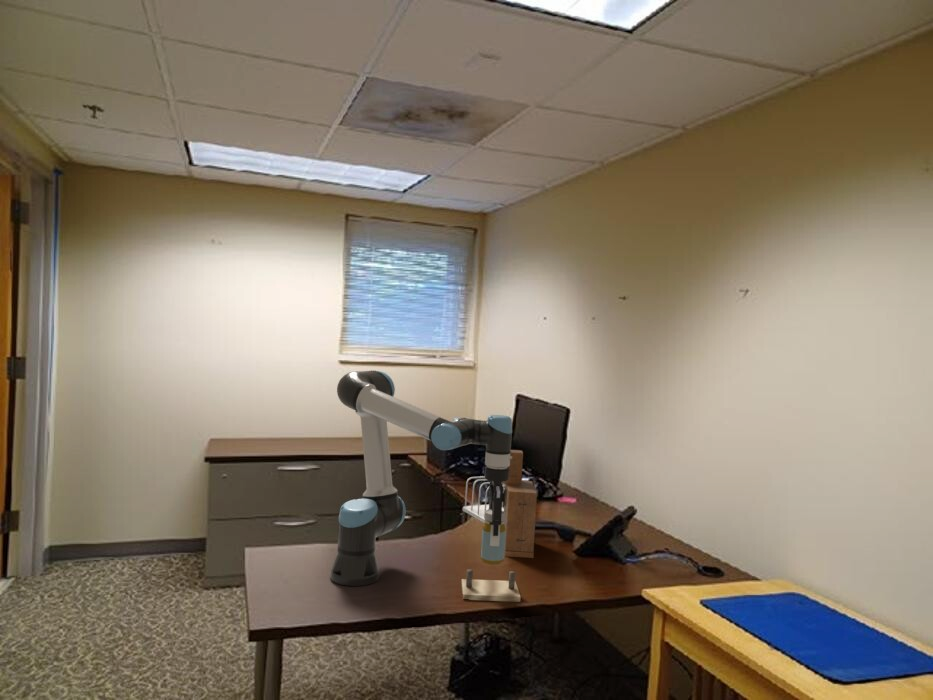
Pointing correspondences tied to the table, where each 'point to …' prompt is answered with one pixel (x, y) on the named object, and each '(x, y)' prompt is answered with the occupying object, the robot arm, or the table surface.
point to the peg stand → (490, 589)
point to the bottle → (488, 552)
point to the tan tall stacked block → (519, 510)
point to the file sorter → (479, 509)
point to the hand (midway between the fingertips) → (493, 541)
